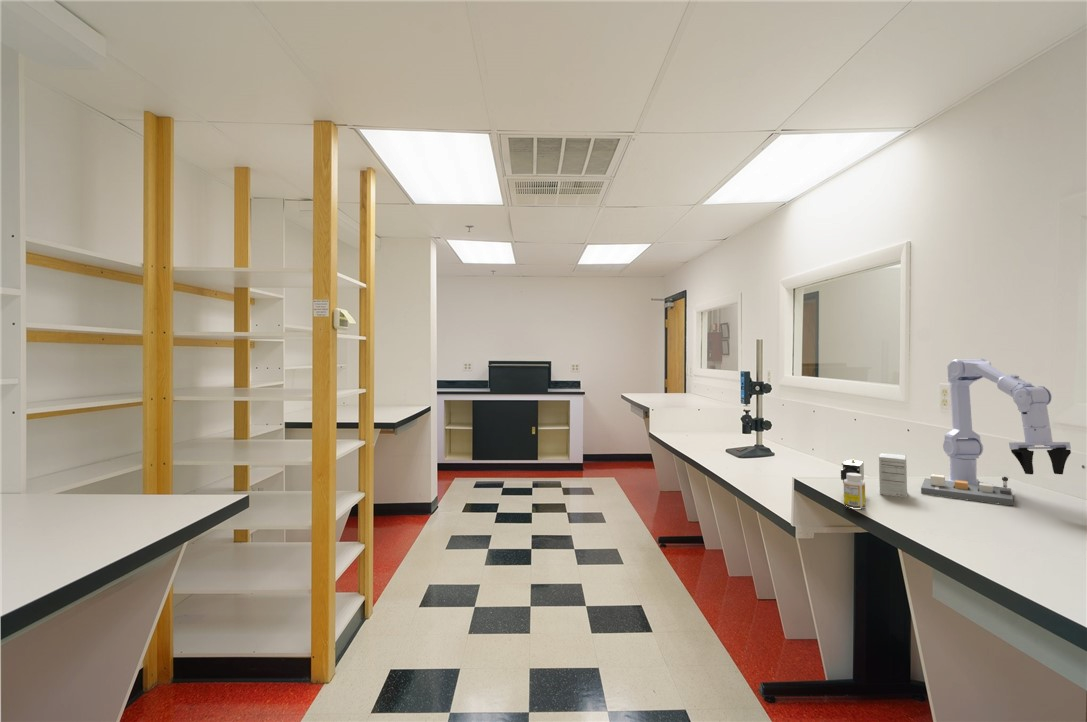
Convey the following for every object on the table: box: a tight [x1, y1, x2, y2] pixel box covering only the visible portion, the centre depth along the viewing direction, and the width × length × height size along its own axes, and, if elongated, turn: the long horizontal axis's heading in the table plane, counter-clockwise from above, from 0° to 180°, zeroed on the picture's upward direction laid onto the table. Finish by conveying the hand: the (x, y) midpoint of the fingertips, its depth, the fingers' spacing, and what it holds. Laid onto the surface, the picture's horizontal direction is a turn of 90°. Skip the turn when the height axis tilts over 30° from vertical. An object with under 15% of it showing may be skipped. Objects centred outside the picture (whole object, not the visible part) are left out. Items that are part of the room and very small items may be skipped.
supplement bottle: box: [843, 473, 866, 508], centre depth 150 cm, size 6×6×10 cm
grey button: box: [978, 482, 994, 493], centre depth 157 cm, size 3×3×2 cm
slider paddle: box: [929, 473, 946, 486], centre depth 164 cm, size 3×4×3 cm
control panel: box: [920, 478, 1014, 506], centre depth 161 cm, size 15×22×3 cm
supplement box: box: [878, 452, 908, 498], centre depth 163 cm, size 7×7×13 cm
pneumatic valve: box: [840, 458, 865, 484], centre depth 163 cm, size 6×12×12 cm, turn 140°
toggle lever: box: [1001, 476, 1009, 488], centre depth 155 cm, size 2×2×3 cm
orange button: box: [955, 480, 968, 490], centre depth 161 cm, size 3×3×2 cm
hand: (1043, 474), depth 143 cm, fingers open, 7 cm apart
